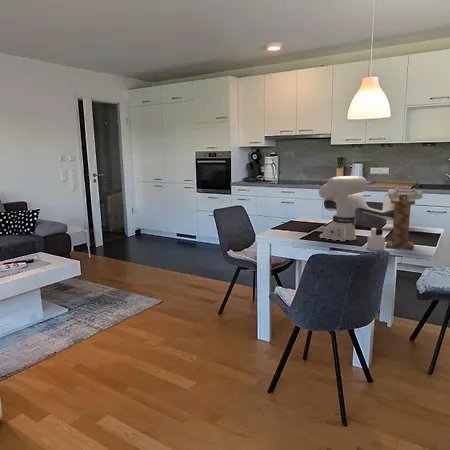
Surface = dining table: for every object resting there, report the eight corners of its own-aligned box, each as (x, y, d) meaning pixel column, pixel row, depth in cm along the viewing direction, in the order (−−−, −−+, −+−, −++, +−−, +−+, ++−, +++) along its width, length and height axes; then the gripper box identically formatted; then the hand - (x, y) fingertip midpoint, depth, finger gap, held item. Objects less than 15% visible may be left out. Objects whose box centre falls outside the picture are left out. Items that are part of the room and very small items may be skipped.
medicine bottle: (379, 247, 220) (380, 226, 218) (384, 250, 213) (386, 229, 211) (366, 247, 220) (368, 227, 217) (371, 250, 213) (373, 229, 210)
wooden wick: (399, 200, 215) (399, 194, 214) (399, 196, 229) (400, 191, 228) (406, 200, 213) (407, 195, 212) (407, 196, 227) (407, 191, 226)
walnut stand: (385, 247, 219) (388, 200, 213) (387, 242, 229) (390, 197, 224) (413, 250, 213) (417, 201, 207) (413, 245, 223) (416, 198, 218)
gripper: (422, 202, 249) (423, 194, 237) (387, 201, 258) (387, 193, 246) (422, 193, 251) (424, 185, 239) (388, 192, 260) (388, 184, 248)
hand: (405, 189), depth 243 cm, fingers open, 8 cm apart
